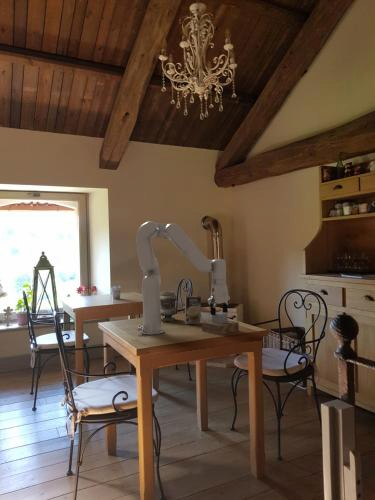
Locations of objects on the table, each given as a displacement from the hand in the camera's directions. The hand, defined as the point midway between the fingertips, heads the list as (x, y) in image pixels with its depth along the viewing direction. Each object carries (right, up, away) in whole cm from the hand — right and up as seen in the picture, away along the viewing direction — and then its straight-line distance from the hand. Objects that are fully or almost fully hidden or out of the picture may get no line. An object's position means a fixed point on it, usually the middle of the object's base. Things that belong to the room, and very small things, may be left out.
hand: (219, 313), depth 209 cm
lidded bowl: (-3, -9, +19) cm, 21 cm away
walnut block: (+1, -10, 0) cm, 10 cm away
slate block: (0, -5, 0) cm, 5 cm away
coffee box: (-14, -10, +21) cm, 27 cm away
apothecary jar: (-29, -10, +34) cm, 46 cm away
